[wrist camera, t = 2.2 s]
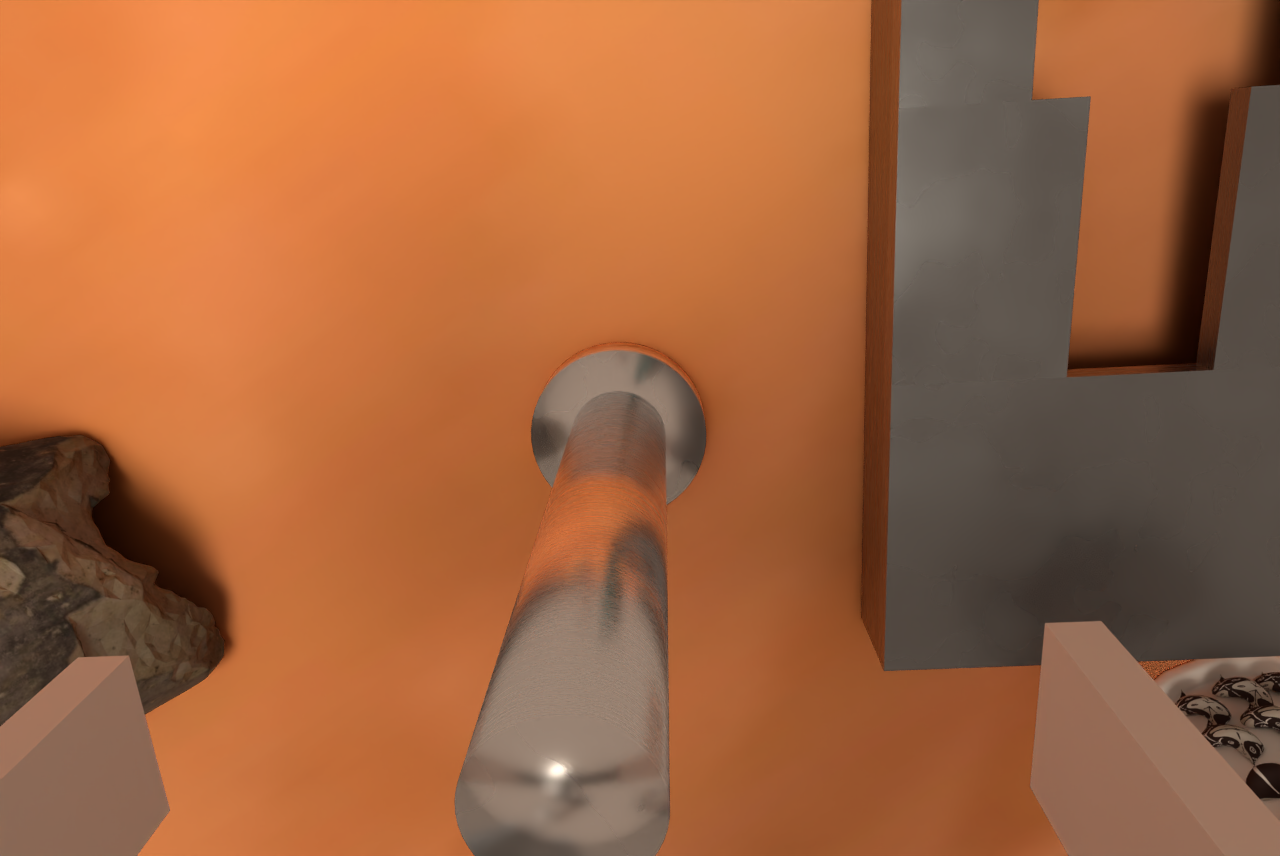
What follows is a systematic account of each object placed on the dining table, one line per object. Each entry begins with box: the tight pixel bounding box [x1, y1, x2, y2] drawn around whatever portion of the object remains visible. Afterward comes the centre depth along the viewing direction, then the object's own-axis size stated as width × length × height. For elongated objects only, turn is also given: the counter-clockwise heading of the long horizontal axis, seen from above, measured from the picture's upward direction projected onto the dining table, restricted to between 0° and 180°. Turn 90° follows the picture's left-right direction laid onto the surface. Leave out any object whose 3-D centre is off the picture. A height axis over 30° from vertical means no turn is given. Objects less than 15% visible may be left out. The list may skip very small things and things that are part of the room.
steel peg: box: [455, 342, 706, 856], centre depth 20 cm, size 5×5×17 cm
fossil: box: [0, 435, 224, 726], centre depth 27 cm, size 11×9×10 cm
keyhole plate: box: [861, 0, 1280, 671], centre depth 24 cm, size 26×13×3 cm, turn 3°
